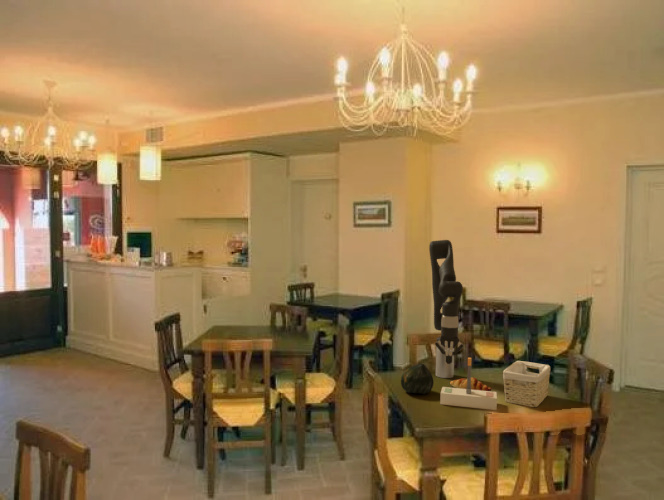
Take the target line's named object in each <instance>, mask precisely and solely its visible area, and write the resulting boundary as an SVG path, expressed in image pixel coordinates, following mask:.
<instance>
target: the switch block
mask: <svg viewBox="0 0 664 500" xmlns="http://www.w3.org/2000/svg"><path fill="white" fill-rule="evenodd" d="M497 393H498V391H492V390H491V391H481V390H471V389H460V388H454V387H448V386H442V387H441V391H440V395H439V396H440V398H439V399H440V400H439V402H440V403H439V404H440V405H442V406H443V405H444V406H445V405H446V406H452V407H453V406H455V407H463V408H473V409H483V410H493V411H497V410H498V409H497V407H498V406H497V404H498V397H497V396H498V394H497Z"/></svg>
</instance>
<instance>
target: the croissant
mask: <svg viewBox="0 0 664 500" xmlns="http://www.w3.org/2000/svg"><path fill="white" fill-rule="evenodd" d="M449 384H450V386H451V387H452V388H460V389H467V378H459V379H454V380H451V381H450V382H449ZM471 390H481V391H492V387H490V386H487V385H486V384H483V383H482V381H479V380H478V378H476V377H472V376H471Z"/></svg>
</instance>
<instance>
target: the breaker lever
mask: <svg viewBox="0 0 664 500" xmlns="http://www.w3.org/2000/svg"><path fill="white" fill-rule="evenodd" d="M466 375H467V377H466V379H467V389H471V378H472V357H467V373H466Z"/></svg>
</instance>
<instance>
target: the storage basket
mask: <svg viewBox="0 0 664 500" xmlns="http://www.w3.org/2000/svg"><path fill="white" fill-rule="evenodd" d="M528 368H529V369H533V370H539V371H538V372H539V373H536V372H530V371H527V369H528ZM502 371H503V372H502V373H503V374H502V378H503V379H502V380H503V386H504V387H503V388H504V389H503V390H504V401H505V402H506V403H511V404H516V405H519V406H525V407H531V408H537V407H538V406H539V405H540V404H541V403H543V401H544V400H545V399H546V397H547V396H548V395H549V384H550V377H551V376H550V375H551V366H550V365H549V364H542V363H537V362H530V361H521V360H516V361H515V362H513V363H512V364H510V365H509V366H507V367H506V368H505V369H504V370H502Z"/></svg>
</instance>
